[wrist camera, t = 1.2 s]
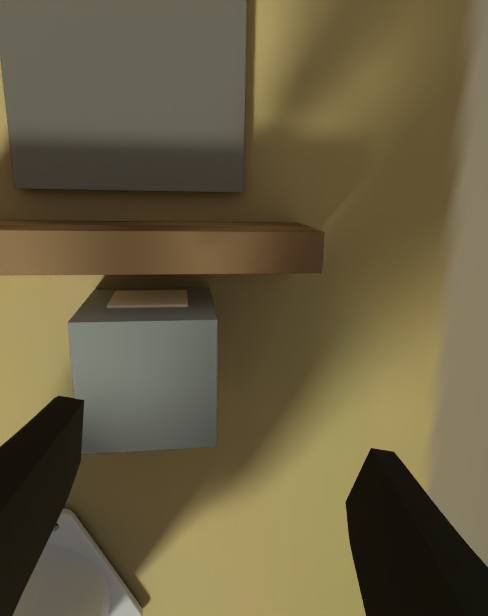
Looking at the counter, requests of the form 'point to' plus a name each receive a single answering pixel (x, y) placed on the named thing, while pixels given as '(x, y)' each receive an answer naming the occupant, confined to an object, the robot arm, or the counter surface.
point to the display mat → (125, 93)
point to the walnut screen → (157, 248)
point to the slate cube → (145, 369)
